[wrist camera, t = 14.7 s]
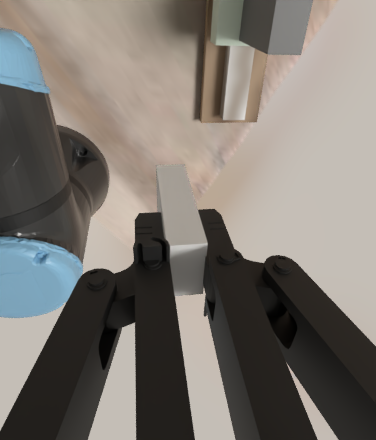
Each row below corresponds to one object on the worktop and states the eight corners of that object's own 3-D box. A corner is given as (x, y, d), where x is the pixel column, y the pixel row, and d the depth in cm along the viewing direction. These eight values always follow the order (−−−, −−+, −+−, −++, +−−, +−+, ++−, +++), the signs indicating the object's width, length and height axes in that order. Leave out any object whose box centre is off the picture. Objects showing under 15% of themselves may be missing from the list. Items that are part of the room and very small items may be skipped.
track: (199, 119, 45) (203, 127, 43) (212, -95, 33) (219, -103, 30) (253, 118, 47) (261, 127, 44) (286, -89, 34) (300, -96, 31)
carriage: (208, 40, 37) (238, 60, 27) (211, -13, 35) (246, -13, 24) (273, 41, 38) (326, 62, 28) (281, -9, 36) (344, -9, 25)
